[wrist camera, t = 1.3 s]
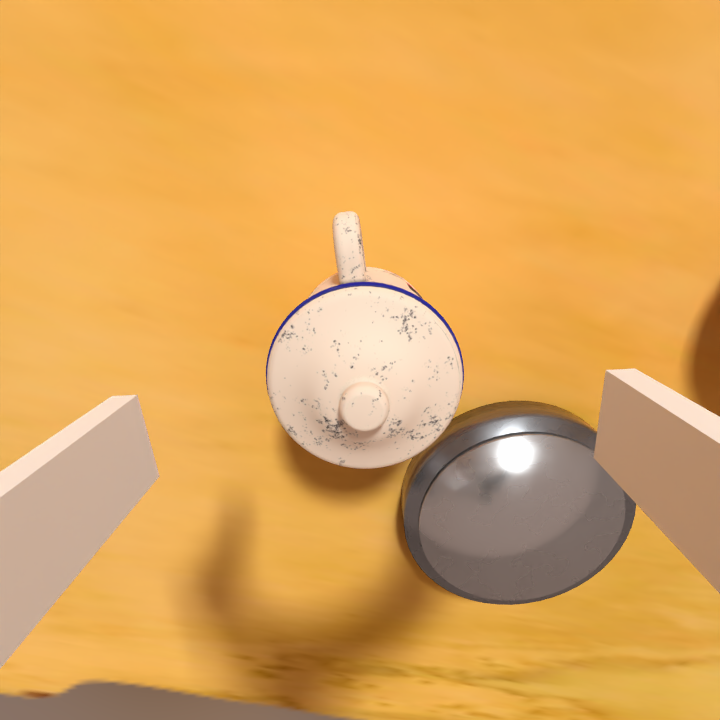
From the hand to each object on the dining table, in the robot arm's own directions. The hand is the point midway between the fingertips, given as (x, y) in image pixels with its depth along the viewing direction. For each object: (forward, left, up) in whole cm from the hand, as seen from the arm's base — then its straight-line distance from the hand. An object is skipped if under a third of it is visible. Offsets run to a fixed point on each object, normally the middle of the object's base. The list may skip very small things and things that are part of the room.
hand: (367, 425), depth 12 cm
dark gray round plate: (+10, -15, -15) cm, 24 cm away
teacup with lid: (0, 0, -16) cm, 16 cm away
